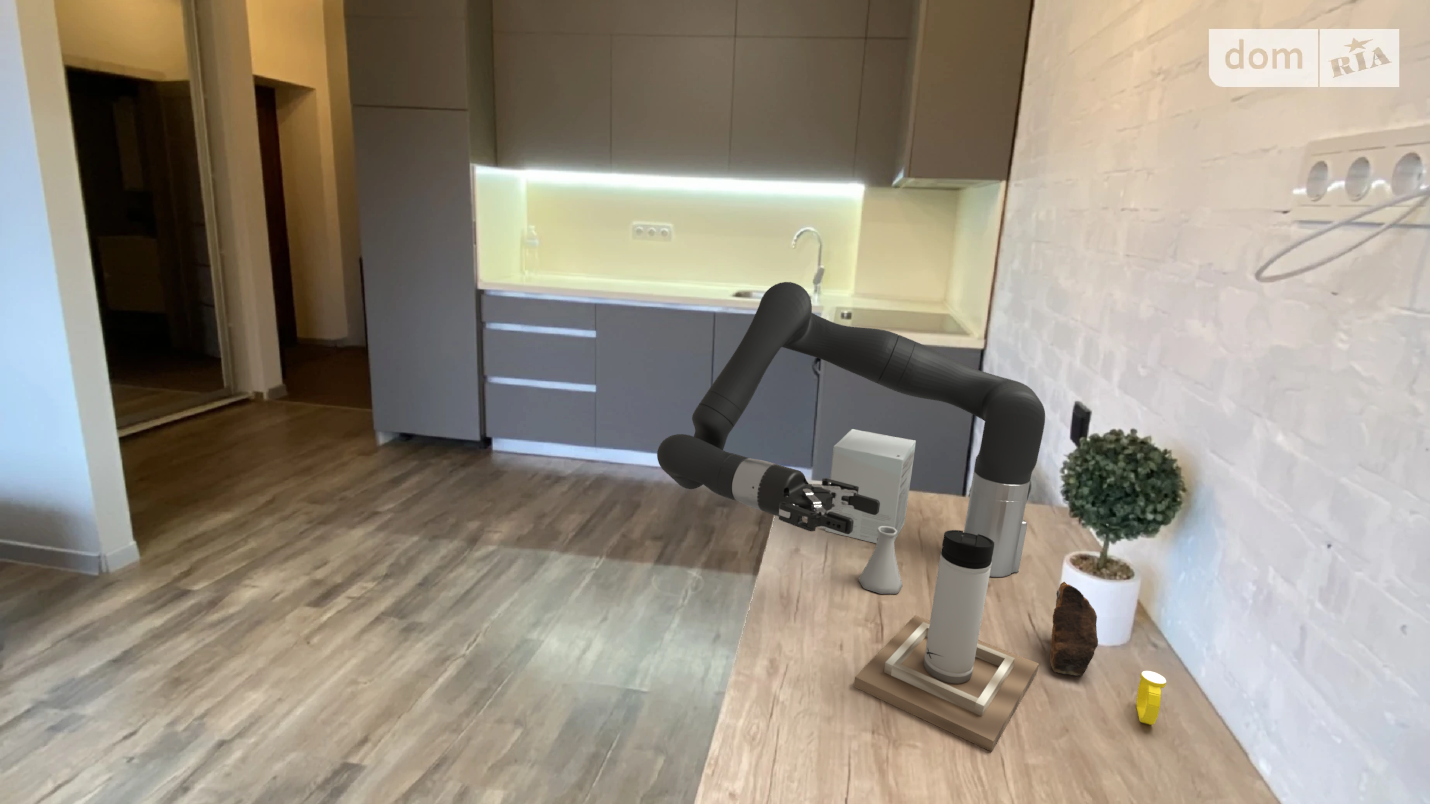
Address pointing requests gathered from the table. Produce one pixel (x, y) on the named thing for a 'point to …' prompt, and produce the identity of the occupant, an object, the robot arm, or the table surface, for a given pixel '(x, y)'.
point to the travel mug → (958, 606)
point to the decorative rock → (1072, 632)
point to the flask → (883, 565)
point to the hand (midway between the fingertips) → (865, 517)
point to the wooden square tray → (949, 686)
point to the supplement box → (874, 479)
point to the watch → (1149, 696)
